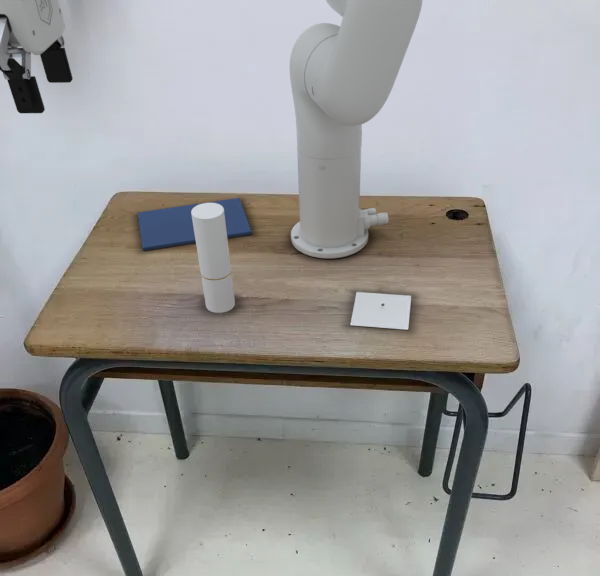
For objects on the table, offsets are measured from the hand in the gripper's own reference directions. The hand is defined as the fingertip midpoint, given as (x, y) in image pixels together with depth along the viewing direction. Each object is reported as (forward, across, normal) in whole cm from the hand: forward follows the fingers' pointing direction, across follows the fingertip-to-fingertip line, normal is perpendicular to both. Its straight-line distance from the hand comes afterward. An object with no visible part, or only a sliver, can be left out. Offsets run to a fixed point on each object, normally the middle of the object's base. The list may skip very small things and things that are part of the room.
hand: (46, 96), depth 85 cm
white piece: (+29, -3, -42) cm, 51 cm away
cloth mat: (+29, +19, -10) cm, 36 cm away
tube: (+29, -3, -19) cm, 35 cm away
